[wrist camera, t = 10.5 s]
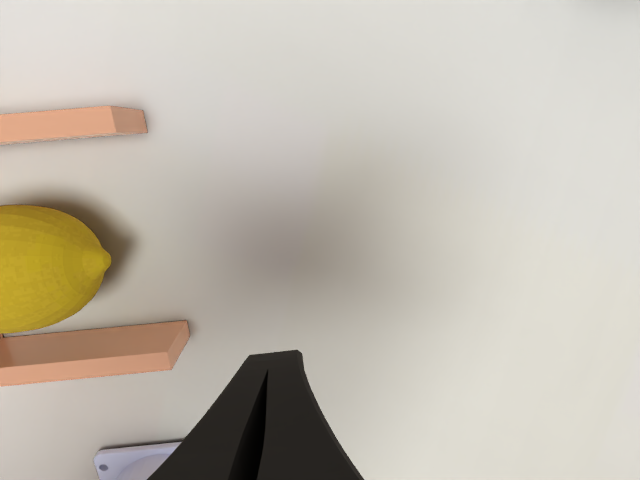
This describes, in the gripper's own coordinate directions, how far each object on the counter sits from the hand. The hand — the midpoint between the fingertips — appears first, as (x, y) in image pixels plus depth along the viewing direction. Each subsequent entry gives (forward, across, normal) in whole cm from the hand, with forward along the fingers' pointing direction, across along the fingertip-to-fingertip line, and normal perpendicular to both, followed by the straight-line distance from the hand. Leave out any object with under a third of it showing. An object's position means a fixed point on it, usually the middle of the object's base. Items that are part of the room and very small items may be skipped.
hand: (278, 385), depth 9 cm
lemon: (+8, +8, -2) cm, 11 cm away
